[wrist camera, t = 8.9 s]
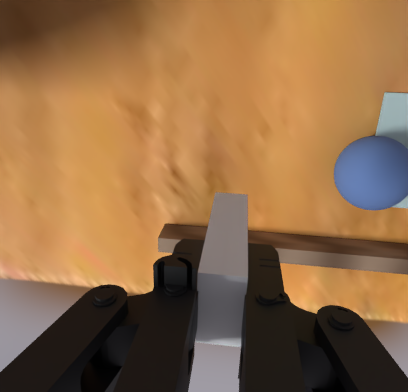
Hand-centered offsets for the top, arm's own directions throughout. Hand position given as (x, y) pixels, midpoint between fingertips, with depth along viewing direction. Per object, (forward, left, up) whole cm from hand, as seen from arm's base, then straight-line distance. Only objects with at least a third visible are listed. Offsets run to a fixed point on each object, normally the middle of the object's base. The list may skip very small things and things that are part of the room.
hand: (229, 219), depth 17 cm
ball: (+11, -1, -13) cm, 17 cm away
